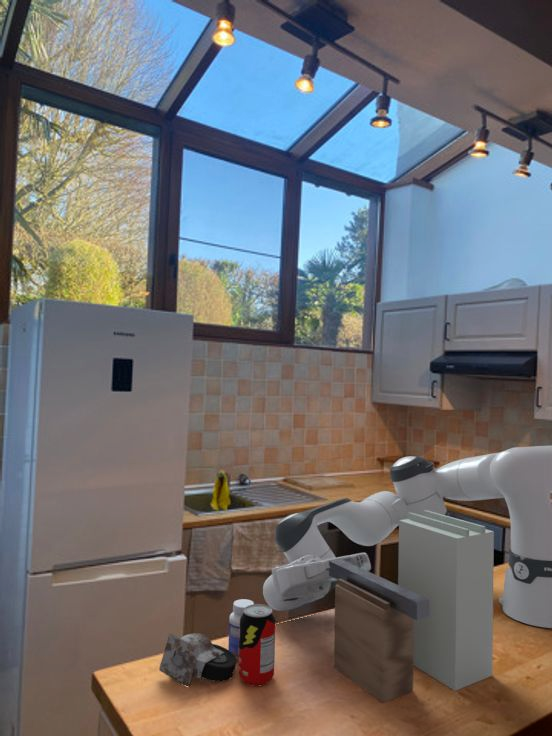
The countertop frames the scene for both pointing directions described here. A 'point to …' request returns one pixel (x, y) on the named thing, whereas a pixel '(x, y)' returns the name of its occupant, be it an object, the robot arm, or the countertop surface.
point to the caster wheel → (196, 659)
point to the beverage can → (257, 645)
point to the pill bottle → (236, 625)
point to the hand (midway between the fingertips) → (346, 561)
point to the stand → (450, 595)
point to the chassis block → (372, 643)
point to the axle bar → (382, 589)
